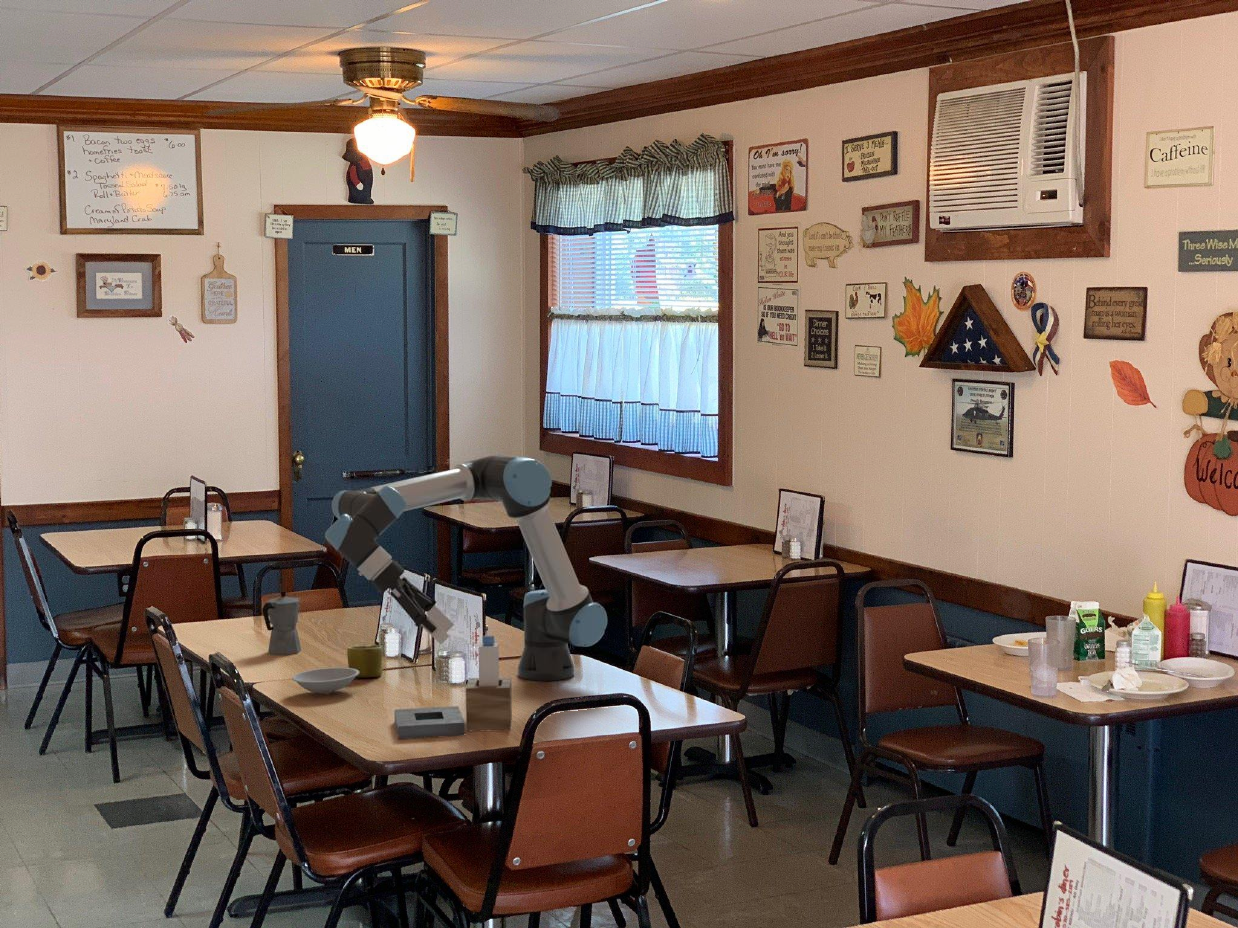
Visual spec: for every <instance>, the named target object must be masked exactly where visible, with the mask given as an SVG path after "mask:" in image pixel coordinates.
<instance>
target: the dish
mask: <svg viewBox="0 0 1238 928" xmlns="http://www.w3.org/2000/svg"><path fill="white" fill-rule="evenodd" d="M358 674H359V671H358V670H356V669H352V668H349V667H322V668H314V669H309V670H304V671H302V672H298V673H296V674H295V673H294V674H293V675H292V676H291V680H292V681H294V682H296V683H297V684H298V685H299V686H300V687H301V688H303V689H304V690H306V691H308V692H312V693H322V695H329V694H331V692H335V691H339V690H341V689H344V688H345V687H348V685H349V684H350V683H352V681H353V680H355V679H356V678H355V676H357V675H358Z"/></svg>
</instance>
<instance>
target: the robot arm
mask: <svg viewBox="0 0 1238 928" xmlns="http://www.w3.org/2000/svg"><path fill="white" fill-rule="evenodd" d="M552 483H553V481H552V477H551V473H550V472H549V469H548V468H547V467H546V466H545V465H544V464H543V463H542V462H540V461H539V460H537V459H534V458H531V457H527V456H511V455H510V456H508V455H502V454H497V455H496V454H495V455H490V456H484V457H482V458H477V459H474V460H469V461H466V462H462V463H458V464H456V465H455V466H454V468H453V469H449V470H443V471H439V472H435V473H431V474H430V473H429V474H426V475H421V476H416V477H412V478H408V479H403V480H399V481H394V482H389V483H386V484H385V483H384V484H381V485H376V486H371V487H367V488H362V489H357V490H353V489H348V490H341V491H338V492H337V493H336V494H335V495H334V497H333V499H332V501H331V510H332V511H331V512H332V513H333V516H335V518H337V520H336V521H334V522H333V523H332V524H331V526H329V528H327V530H326V531H325V533H324V538H325V539H326V541H328V543H329V544H330V545H331V546H332V547H333V548H334V549H335V551H336V552H338V553H339V554H340V555H341V556H343V558H345V560H347V561H348V562H349V563H350V564H351V565H352V566H353V567H354V568H355V569H356V570H357V571H358V575H359V576H361V577H362V576H364V578H366V579H367V581H371V583H372V586H373V587H374V588H375V589H377V591H379V592H380V593H382V594H384V593H385V592H386V591H387V590H389V589H390V591H391V592H389V594H390V596H391V597H392V598H394V600H395V601H396V602H397V603H398V605H400V606H401V608H402V609H403V610H404V611H405V613H406V614H407V615H408V617H410V618H411V620H412V621H413V623H414V625H415V626H416V627H417V628H419V627H420V626H421V627H422V629H424V631H426V632H427V633H428V634H429V635H430V636H431V637H432V638H434V640H435V641H436V642H437V643H439V645H442V644H444V642H446V641H447V639H448V638H449V637H450V635H449V634H448V633H447V632H448V631H450V629H451V628H452V627H453V626H455V622H453V621H452V620H451V619H450V618H449V617H448V616H447V615H446V614H445V613H444V612H443V611H442V610H440V608H439V607H437V605H436V604H437V600H436V599H432V598H430V597H429V595H426V594H425V593H424V592H423V591H422V590H420V589H419V588H418V587H417V586H416V585H414V584H413V583H411V581H409V580H408V578H407V577H405V576H403V577H402V575H403V574H404V573H405V569H404V567H403V566H402V565H400V563H399V562H398V561H396V560H392V557H393V556H392V555H391V554H390V553H389V552H387V551H386V550H385V549H384V548H383V547H382V546H381V545H380V544H379V543H378V542H377V541H376V540H377V539H378V538H379V537H380V536H381V535H382V534H383V533H384V532H385V531H386V530H387V529H388V528H389V527H390V526H391V525H392V524H393V523H395V521H396V520H398V519H399V518H400V516H401V515H402V514H403V512H406V511H411V510H414V509H419V508H424V507H428V506H432V505H437V504H440V503H445V502H450V501H453V500H459V499H460V500H462V501H464V502H467V501H472V500H490V501H491V500H492V501H497V502H501V503H502V505H503V507H504V510H505V512H506V515H507V516H508V518H510V519H513V520H515V521H516V522H517V525H518V526H519V529H520V531H521V535H522V537H523V539H524V542H525V543H526V546H527V549H528V551H529V553H530V556H531V557H532V560H533V563H534V565H535V567H536V570H537V573H538V574H539V577H540V579H541V581H542V585H543V586H544V589H539V590H537V589H536V590H531V591H529V592H526V593H525V594H524V598H523V605H522V607H523V637H524V638H523V639H524V640H523V641H524V642H523V643H524V645H523V646H524V647H523V650H522V653H521V656H520V659H519V663H518V666H517V675H518V677H519V678H522V679H523V680H529V681H540V682H542V681H543V682H545V681H560V680H565V679H569V678H572V677H573V676H575V665H574V661H573V658H572V655H571V652H570V649H569V646H568V644H570V645H573V646H576V647H583V648H584V647H585V648H586V647H591V646H594V645H595V644H596V643H598V642H599V641H600V640H601V639H602V637H603V636H604V634H605V630H606V628H607V625H608V616H607V615H608V614H607V611H606V610H605V608H604V607H603V606H602V605H601V604H600V603H598V602H594V601H593V599H592V596H591V593H590V591H589V589H588V587H587V586H585V585H583V584H580V582H579V579H578V577H577V574H576V573H575V570H574V568H573V565H572V563H571V561H570V558H569V556H568V553H567V550H566V549H565V546H564V543H563V541H562V538H561V536H560V533H559V531H558V529H557V527H556V524H555V522H554V518H553V516H552V514H551V512H550V509H549V505H550V504H551V500H552V499H551V495H550V494H551V487H552V485H553V484H552ZM401 577H402V578H401ZM425 612H426V613H425Z"/></svg>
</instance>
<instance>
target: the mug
mask: <svg viewBox="0 0 1238 928" xmlns="http://www.w3.org/2000/svg"><path fill="white" fill-rule="evenodd" d="M346 653H347V654H346V656H347V666H348V667H347V668H352V669H356V670H358V671H359V674H358V675H357V676H355V678H354V679H365V678H379V677H381V676H382V674H383V655H384V654H383V653H384V649H383V646H382V645H380V644H367V645H352V646H349V647H347V651H346Z"/></svg>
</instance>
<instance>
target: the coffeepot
mask: <svg viewBox="0 0 1238 928" xmlns="http://www.w3.org/2000/svg"><path fill="white" fill-rule="evenodd" d="M286 594H287V591H286V590H280V596H278V597H274V598H271V599H269V600H267V601H266V602H265V603H264V605H263V607H262V609H261V611H262V615H263V619H264V624H265V626H266V630H267V631H271V632H270V638H269V644H268V651H267V652H268V654H270V655H273V656H288V655H290V656H291V655H295V654H296V655H297V654H298V653H300V652H301V651H302V648H301V642H300V637H299V632H298V629H297V623H298V622H299V621H298V620H299V613H300V604H301V598H300V597H291V596H287V595H286Z"/></svg>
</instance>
